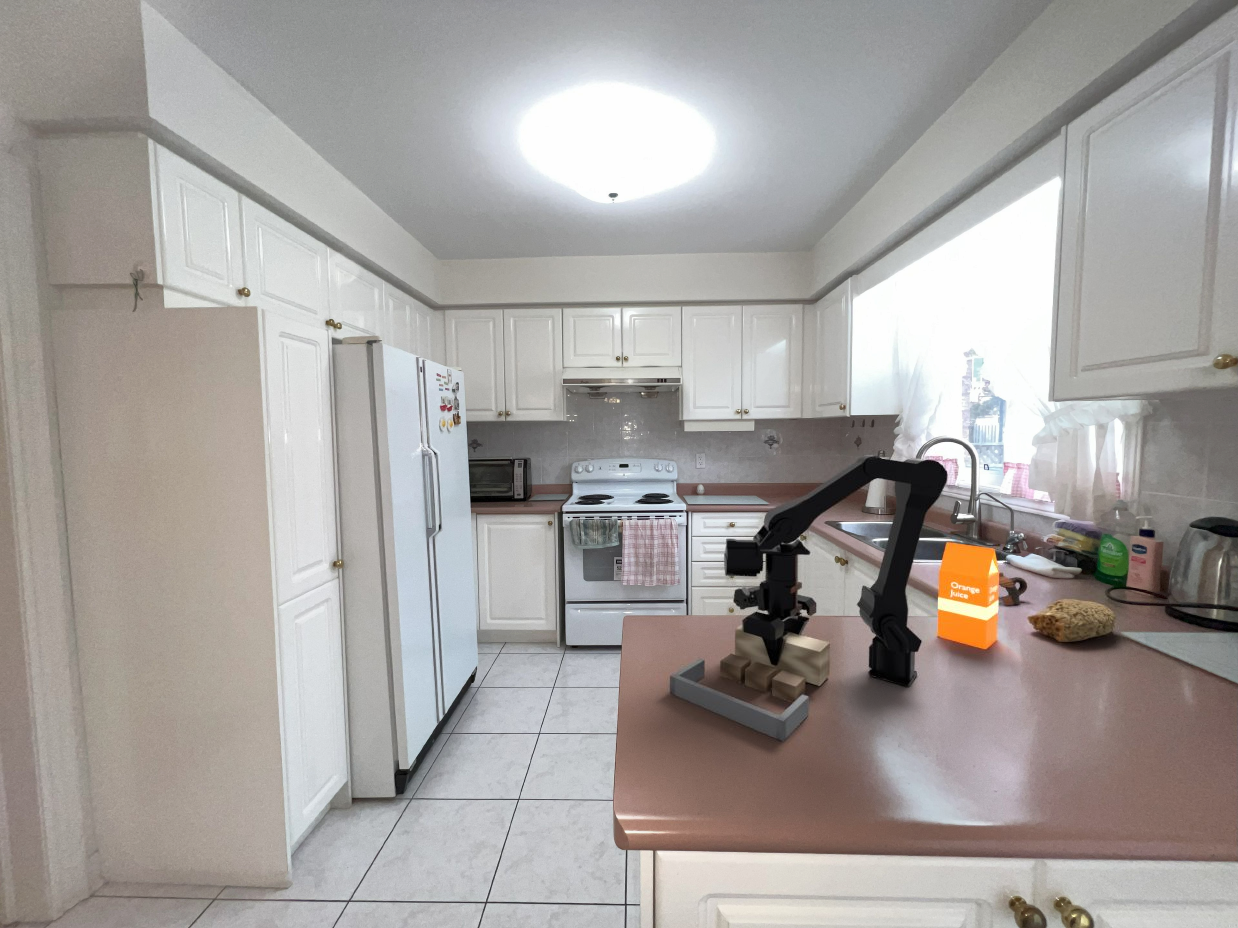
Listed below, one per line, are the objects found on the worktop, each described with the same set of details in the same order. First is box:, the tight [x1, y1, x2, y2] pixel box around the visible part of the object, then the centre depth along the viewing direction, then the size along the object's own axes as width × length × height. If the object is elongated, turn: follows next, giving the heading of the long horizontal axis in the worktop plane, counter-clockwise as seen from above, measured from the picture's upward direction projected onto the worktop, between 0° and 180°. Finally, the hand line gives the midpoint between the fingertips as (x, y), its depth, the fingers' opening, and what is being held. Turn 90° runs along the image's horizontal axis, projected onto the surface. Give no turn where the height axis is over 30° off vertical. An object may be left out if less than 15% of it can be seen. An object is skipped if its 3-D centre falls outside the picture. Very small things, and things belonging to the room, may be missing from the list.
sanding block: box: [734, 624, 831, 687], centre depth 92 cm, size 16×5×6 cm, turn 49°
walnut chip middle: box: [744, 662, 778, 694], centre depth 87 cm, size 4×4×3 cm
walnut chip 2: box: [771, 670, 806, 703], centre depth 83 cm, size 4×4×3 cm
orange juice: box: [937, 541, 1000, 650], centre depth 106 cm, size 8×9×20 cm
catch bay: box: [669, 658, 810, 742], centre depth 80 cm, size 20×9×3 cm, turn 47°
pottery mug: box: [999, 572, 1028, 607], centre depth 131 cm, size 12×10×8 cm
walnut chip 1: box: [719, 653, 751, 684], centre depth 90 cm, size 4×4×3 cm
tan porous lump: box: [1026, 598, 1117, 643], centre depth 109 cm, size 13×8×20 cm
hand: (780, 659), depth 92 cm, fingers closed on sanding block, 5 cm apart
